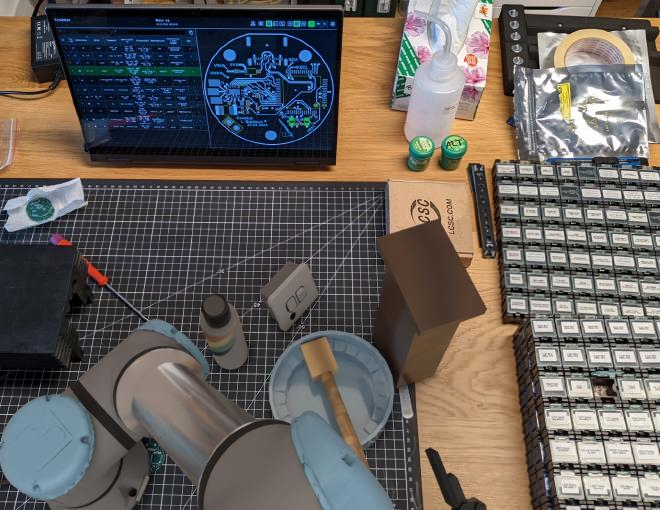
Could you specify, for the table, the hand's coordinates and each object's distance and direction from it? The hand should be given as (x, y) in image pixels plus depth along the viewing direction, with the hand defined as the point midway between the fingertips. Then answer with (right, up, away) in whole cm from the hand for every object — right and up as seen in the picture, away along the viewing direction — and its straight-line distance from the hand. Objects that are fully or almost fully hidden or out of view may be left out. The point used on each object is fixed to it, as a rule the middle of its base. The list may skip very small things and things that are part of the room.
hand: (378, 475), depth 70 cm
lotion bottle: (-22, +8, +34) cm, 41 cm away
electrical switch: (-12, +16, +39) cm, 44 cm away
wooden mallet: (-4, +2, +25) cm, 25 cm away
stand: (+7, +8, +34) cm, 36 cm away
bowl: (-5, +1, +30) cm, 31 cm away
